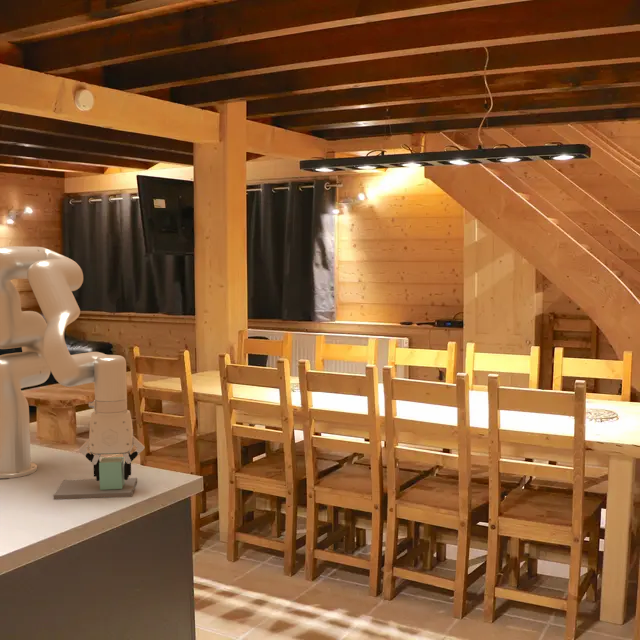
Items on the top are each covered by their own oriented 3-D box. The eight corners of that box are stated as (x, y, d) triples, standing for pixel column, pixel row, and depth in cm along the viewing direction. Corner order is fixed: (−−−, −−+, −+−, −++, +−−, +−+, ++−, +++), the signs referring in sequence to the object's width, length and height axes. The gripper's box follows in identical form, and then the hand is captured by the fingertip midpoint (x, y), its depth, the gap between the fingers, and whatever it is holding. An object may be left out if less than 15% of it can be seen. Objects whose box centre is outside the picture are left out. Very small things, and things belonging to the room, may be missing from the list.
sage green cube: (99, 489, 184) (99, 462, 183) (103, 484, 189) (102, 457, 189) (122, 488, 184) (121, 461, 184) (124, 482, 190) (123, 456, 189)
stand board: (53, 499, 180) (53, 495, 180) (64, 484, 192) (63, 480, 192) (131, 496, 183) (131, 492, 182) (137, 481, 194) (136, 477, 194)
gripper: (71, 410, 180) (73, 484, 182) (145, 408, 182) (147, 482, 184) (77, 404, 188) (79, 475, 189) (148, 402, 190) (150, 473, 191)
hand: (112, 478), depth 187 cm, fingers open, 6 cm apart
